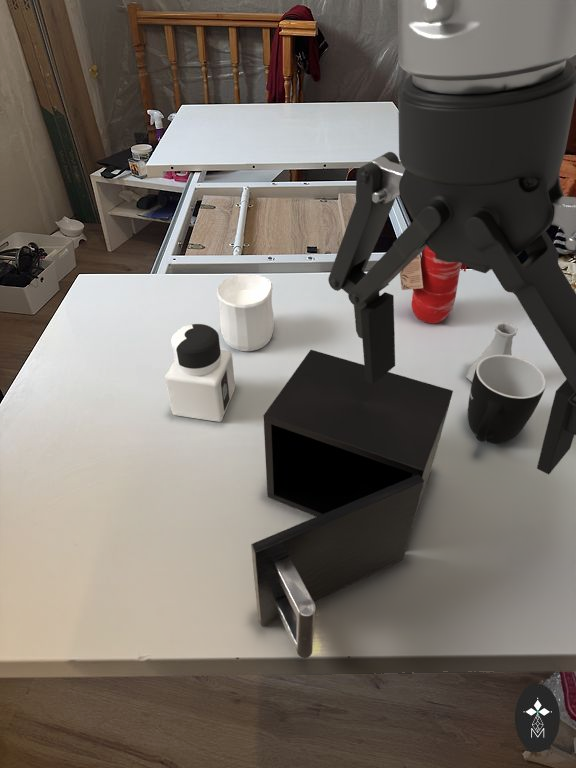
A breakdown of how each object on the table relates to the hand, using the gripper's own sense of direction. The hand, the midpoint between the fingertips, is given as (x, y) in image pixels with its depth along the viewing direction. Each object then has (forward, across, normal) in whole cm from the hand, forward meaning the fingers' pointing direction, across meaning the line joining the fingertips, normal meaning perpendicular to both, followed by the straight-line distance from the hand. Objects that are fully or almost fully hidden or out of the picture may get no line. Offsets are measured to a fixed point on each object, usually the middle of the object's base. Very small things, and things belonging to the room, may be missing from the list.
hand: (457, 411), depth 37 cm
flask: (+33, -16, +38) cm, 53 cm away
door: (+29, -7, -7) cm, 31 cm away
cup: (+27, -52, +18) cm, 61 cm away
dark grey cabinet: (+29, -18, +6) cm, 35 cm away
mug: (+33, -10, +27) cm, 43 cm away
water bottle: (+32, -34, +45) cm, 65 cm away
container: (+26, -44, +2) cm, 51 cm away
